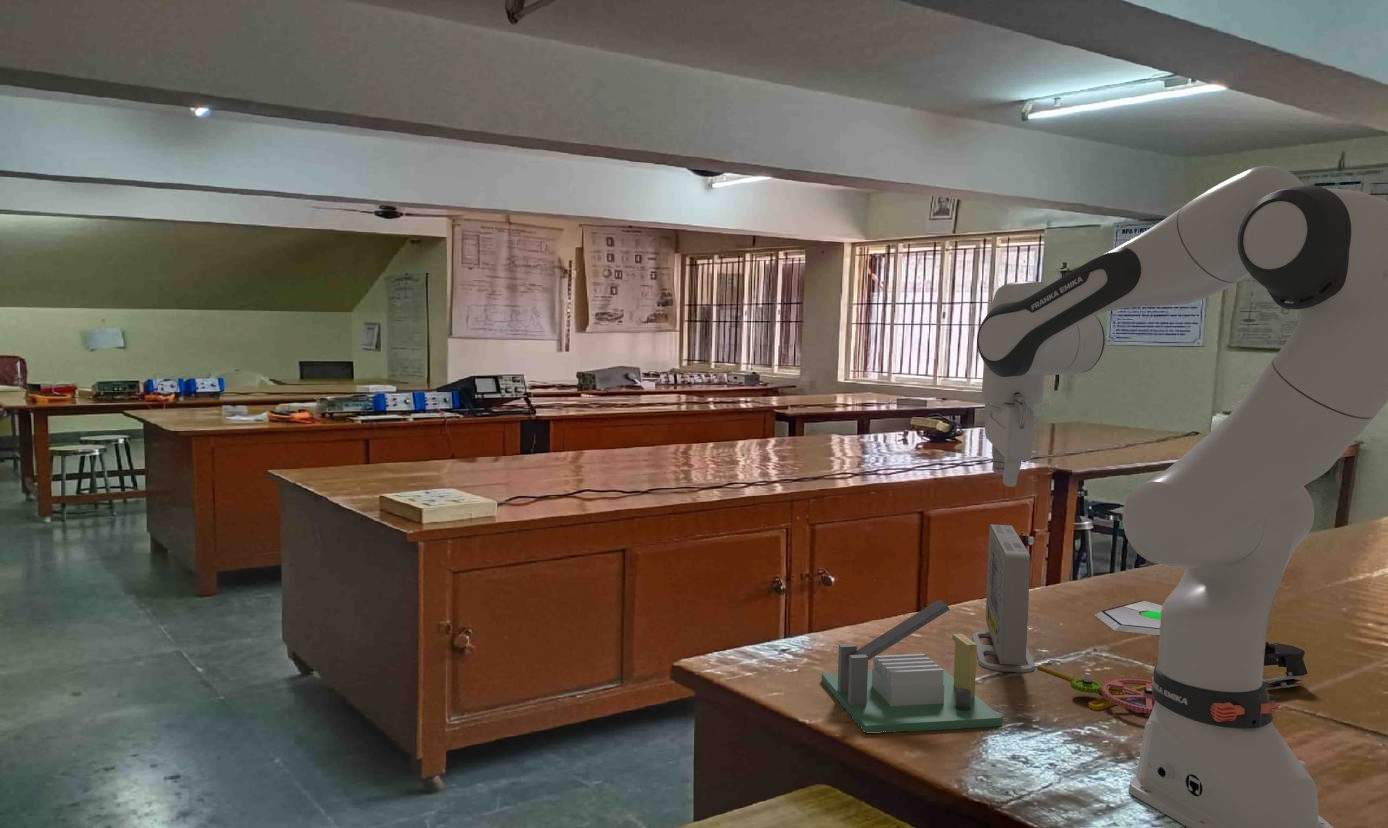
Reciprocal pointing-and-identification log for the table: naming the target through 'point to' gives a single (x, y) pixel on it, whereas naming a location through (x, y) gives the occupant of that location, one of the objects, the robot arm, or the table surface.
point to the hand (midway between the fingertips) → (1003, 479)
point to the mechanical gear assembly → (1113, 692)
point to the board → (916, 712)
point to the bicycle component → (1285, 664)
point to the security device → (1134, 617)
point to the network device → (1006, 602)
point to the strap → (902, 630)
